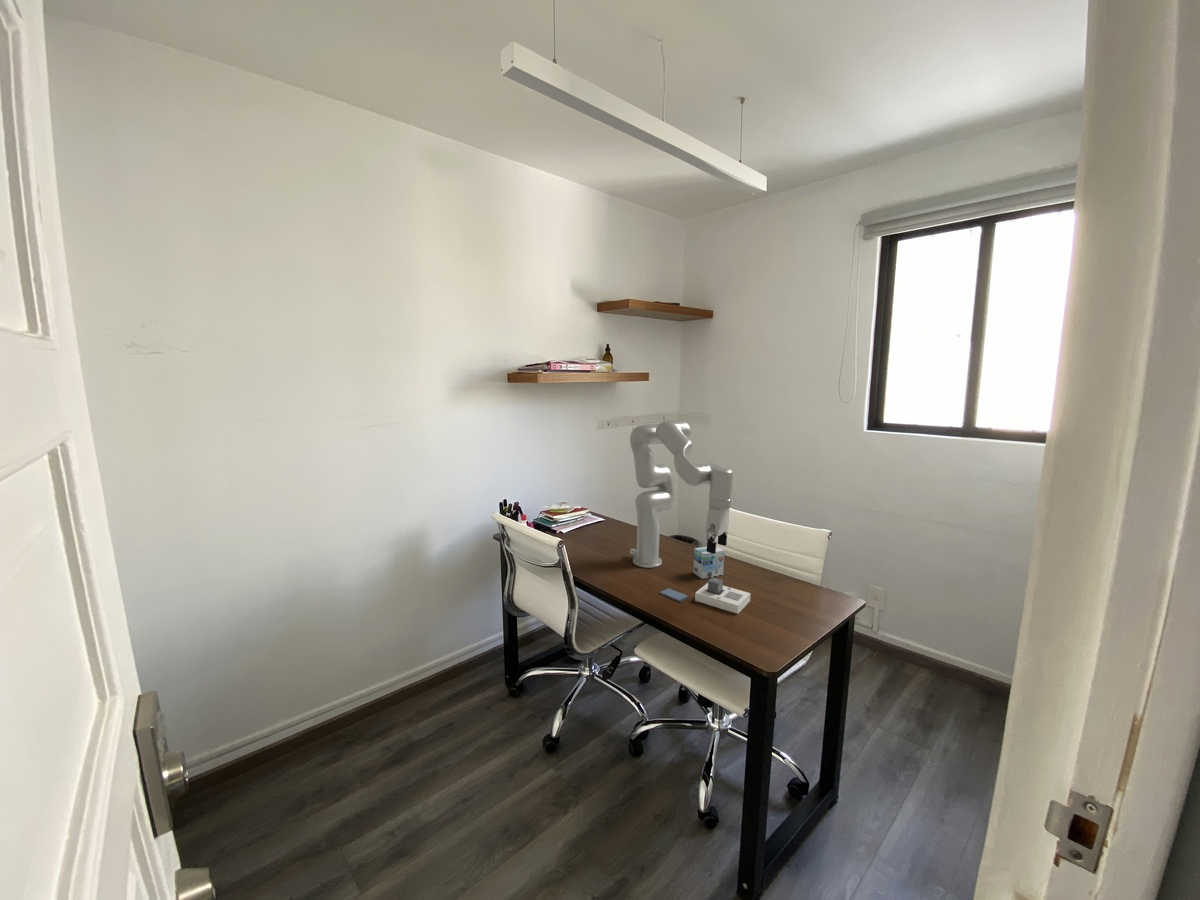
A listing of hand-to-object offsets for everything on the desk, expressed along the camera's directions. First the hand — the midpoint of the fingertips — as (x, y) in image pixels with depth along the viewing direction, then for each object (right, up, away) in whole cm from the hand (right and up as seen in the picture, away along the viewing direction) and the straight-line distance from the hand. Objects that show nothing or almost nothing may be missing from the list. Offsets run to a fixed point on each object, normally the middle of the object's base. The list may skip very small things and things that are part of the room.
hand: (716, 548), depth 172 cm
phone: (-15, -19, +5) cm, 24 cm away
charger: (0, -19, +3) cm, 19 cm away
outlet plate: (+2, -19, +1) cm, 19 cm away
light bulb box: (+2, -16, +24) cm, 29 cm away
